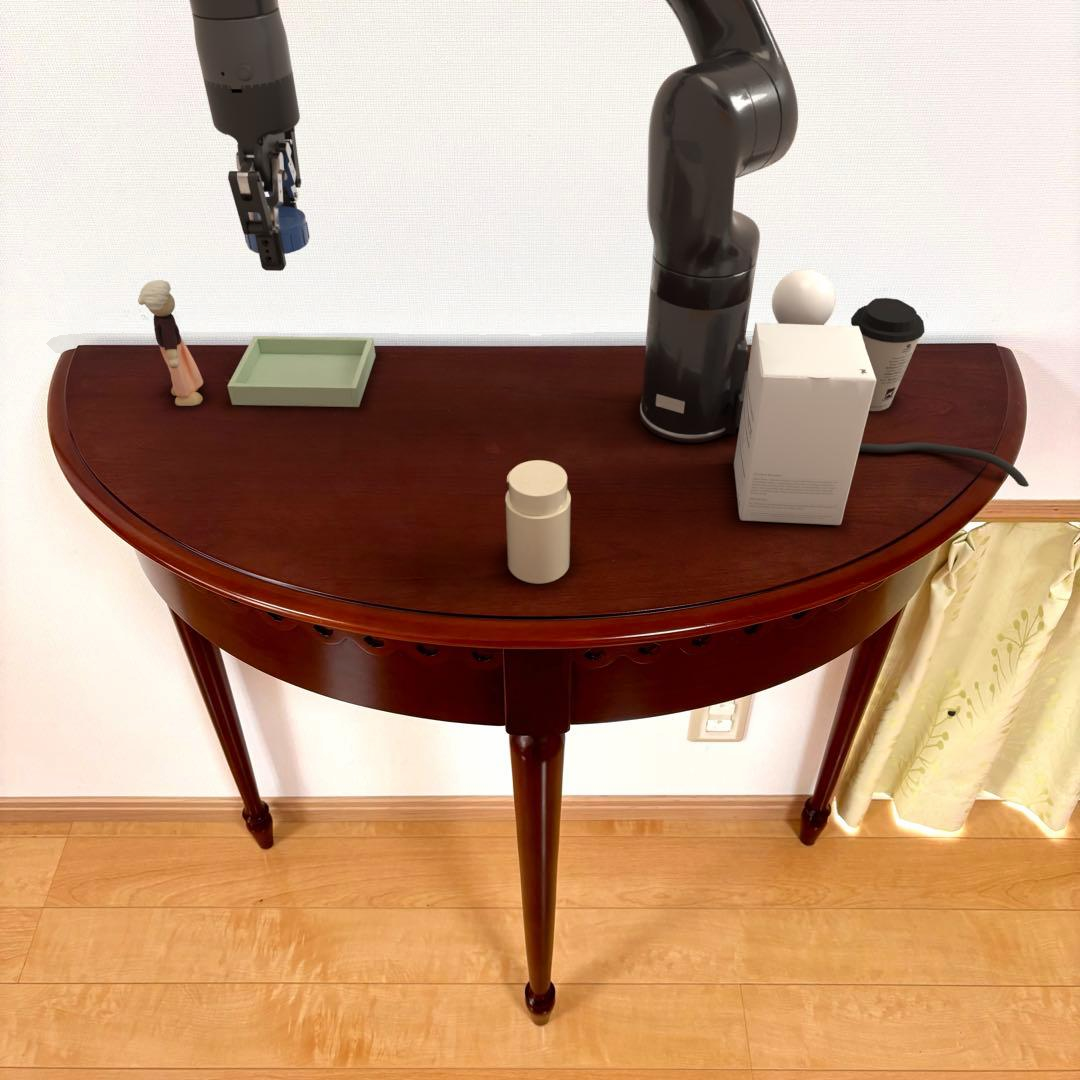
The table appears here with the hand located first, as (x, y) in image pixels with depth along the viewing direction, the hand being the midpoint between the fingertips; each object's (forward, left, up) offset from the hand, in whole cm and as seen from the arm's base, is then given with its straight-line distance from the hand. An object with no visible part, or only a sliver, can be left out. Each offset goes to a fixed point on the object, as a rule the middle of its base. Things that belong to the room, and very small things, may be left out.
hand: (282, 253), depth 93 cm
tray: (0, 0, -14) cm, 14 cm away
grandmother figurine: (+12, +3, -14) cm, 19 cm away
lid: (0, 0, +3) cm, 3 cm away
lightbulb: (-52, -4, -14) cm, 54 cm away
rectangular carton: (-48, +18, -14) cm, 53 cm away
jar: (-26, +28, -14) cm, 41 cm away
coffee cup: (-59, +2, -14) cm, 61 cm away
